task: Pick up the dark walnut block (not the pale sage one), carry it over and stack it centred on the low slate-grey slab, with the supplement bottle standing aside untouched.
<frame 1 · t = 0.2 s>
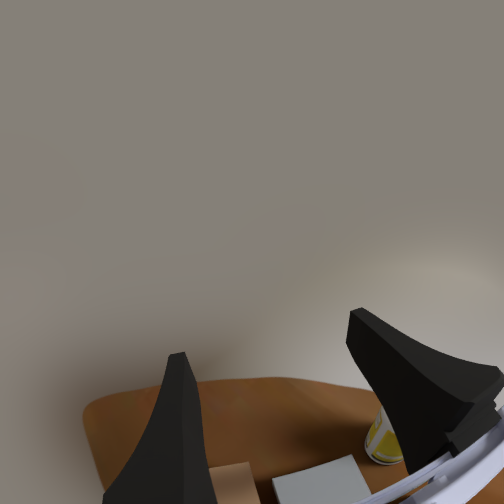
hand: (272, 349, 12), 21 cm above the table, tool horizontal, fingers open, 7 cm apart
walnut block: (233, 500, 21), on the table
supplement bottle: (387, 445, 25), on the table
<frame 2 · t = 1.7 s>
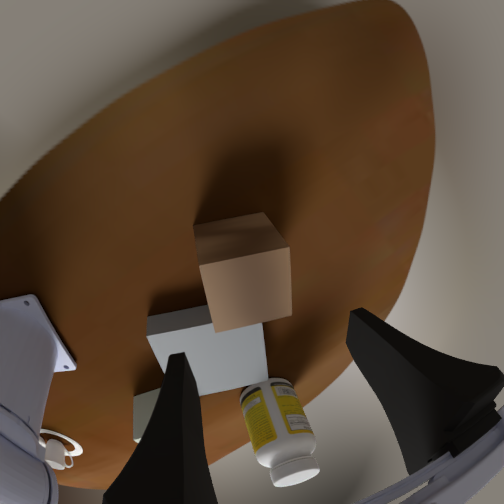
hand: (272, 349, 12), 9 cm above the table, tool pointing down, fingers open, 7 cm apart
teacup and saucer: (43, 427, 26), on the table
slate slab: (209, 340, 24), on the table
walnut block: (232, 249, 20), on the table
sage block: (165, 401, 26), on the table
supplement bottle: (265, 391, 29), on the table
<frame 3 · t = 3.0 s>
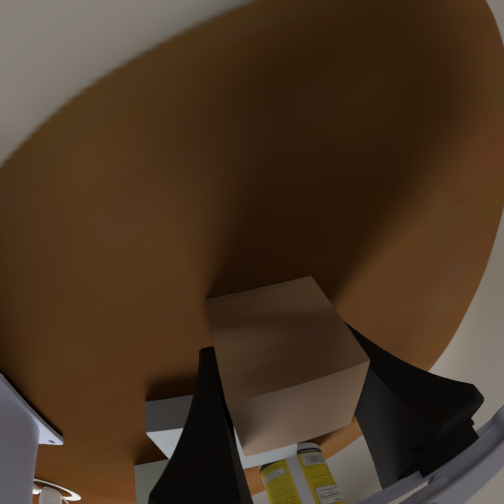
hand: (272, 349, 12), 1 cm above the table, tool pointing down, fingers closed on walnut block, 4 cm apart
teacup and saucer: (36, 476, 20), on the table
slate slab: (225, 417, 17), on the table
walnut block: (263, 327, 13), on the table, touching gripper
sage block: (171, 468, 20), on the table
supplement bottle: (287, 453, 22), on the table
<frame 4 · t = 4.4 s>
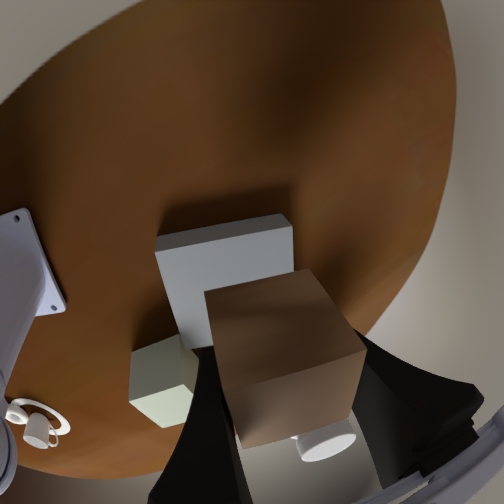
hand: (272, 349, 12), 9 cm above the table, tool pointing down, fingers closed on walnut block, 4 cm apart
teacup and saucer: (26, 398, 23), on the table
slate slab: (227, 274, 21), on the table
walnut block: (262, 319, 14), point 7 cm above the table, touching gripper
sage block: (168, 359, 23), on the table
supplement bottle: (285, 350, 26), on the table
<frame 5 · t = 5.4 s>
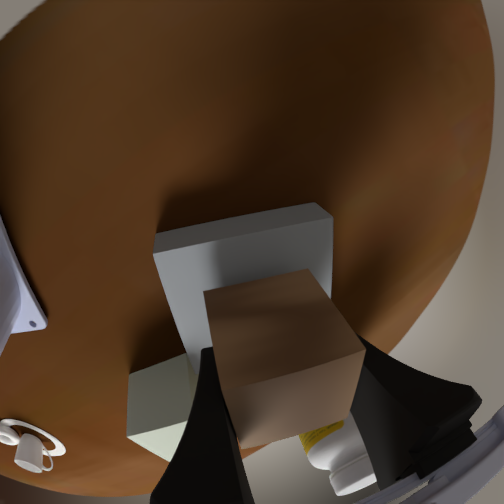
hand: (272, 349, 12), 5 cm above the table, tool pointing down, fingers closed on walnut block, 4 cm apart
teacup and saucer: (16, 418, 19), on the table
slate slab: (245, 280, 17), on the table
walnut block: (261, 320, 14), point 3 cm above the table, touching gripper
sage block: (174, 381, 19), on the table
supplement bottle: (310, 365, 22), on the table
when the fingers open (5 cm above the table, at t = 5.8 s): walnut block drops 1 cm, point 2 cm above the table.
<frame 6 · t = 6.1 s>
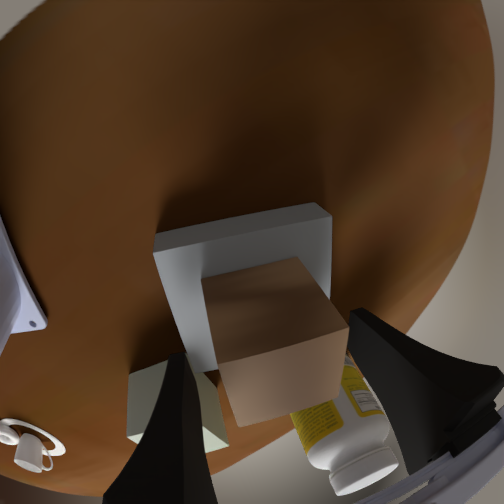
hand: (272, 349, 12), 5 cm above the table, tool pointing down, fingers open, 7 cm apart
teacup and saucer: (15, 418, 19), on the table
slate slab: (245, 279, 17), on the table
walnut block: (255, 306, 15), point 2 cm above the table
sage block: (173, 381, 19), on the table
supplement bottle: (310, 365, 22), on the table
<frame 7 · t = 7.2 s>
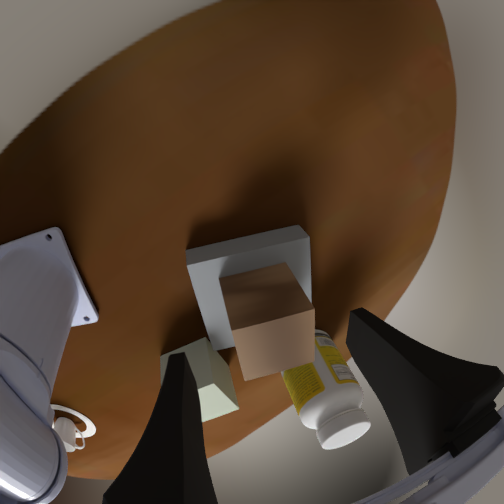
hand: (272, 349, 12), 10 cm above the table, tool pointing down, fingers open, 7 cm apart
teacup and saucer: (52, 403, 26), on the table
slate slab: (249, 280, 23), on the table
walnut block: (256, 297, 21), point 2 cm above the table
sage block: (195, 361, 25), on the table
supplement bottle: (302, 347, 28), on the table
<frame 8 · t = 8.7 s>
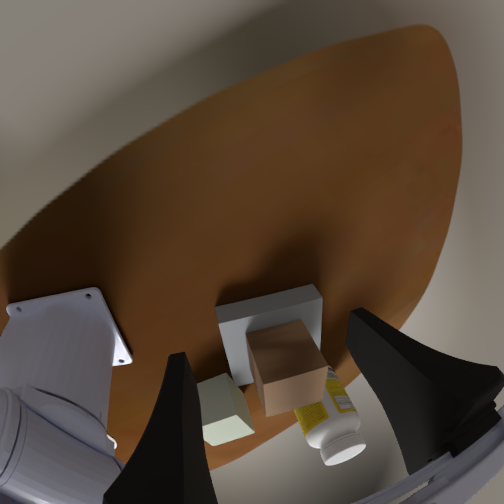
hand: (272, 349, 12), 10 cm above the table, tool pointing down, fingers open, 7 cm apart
slate slab: (267, 327, 26), on the table
walnut block: (274, 346, 24), point 2 cm above the table
sage block: (215, 391, 28), on the table
supplement bottle: (308, 377, 31), on the table
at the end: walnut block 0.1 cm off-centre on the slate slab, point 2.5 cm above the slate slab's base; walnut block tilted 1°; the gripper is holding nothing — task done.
